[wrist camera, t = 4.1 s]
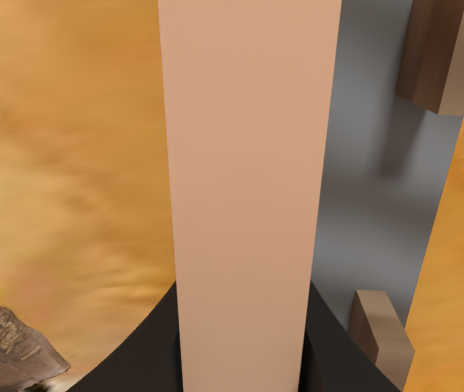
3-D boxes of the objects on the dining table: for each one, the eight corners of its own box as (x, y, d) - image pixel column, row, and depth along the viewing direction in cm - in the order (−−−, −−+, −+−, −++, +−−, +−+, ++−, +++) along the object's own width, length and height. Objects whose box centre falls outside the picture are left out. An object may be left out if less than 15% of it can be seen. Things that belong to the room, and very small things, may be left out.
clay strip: (270, 423, 16) (276, 580, 12) (212, 420, 16) (195, 574, 12) (301, 6, 10) (343, -14, 5) (203, 5, 10) (156, -14, 5)
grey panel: (389, 348, 22) (423, 430, 18) (222, 339, 23) (215, 416, 18) (492, -43, 14) (604, -75, 10) (229, -48, 15) (218, -81, 10)
